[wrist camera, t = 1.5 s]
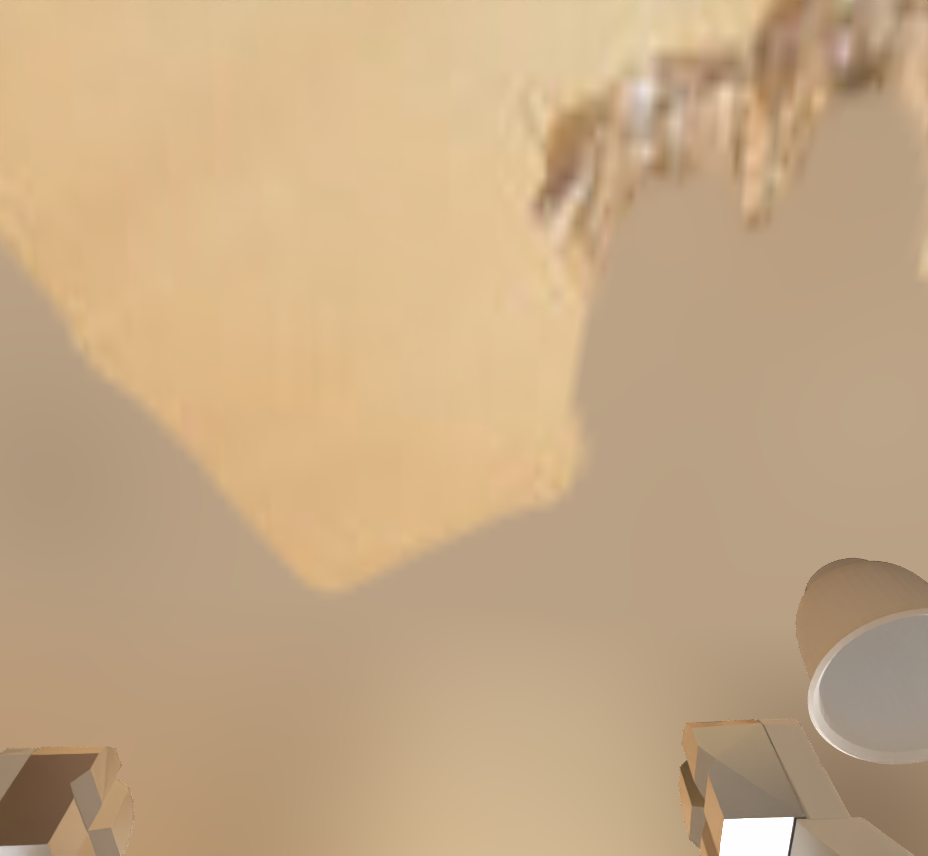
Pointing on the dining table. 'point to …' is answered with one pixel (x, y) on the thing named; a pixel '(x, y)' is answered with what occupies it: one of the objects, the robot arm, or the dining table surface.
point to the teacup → (867, 659)
